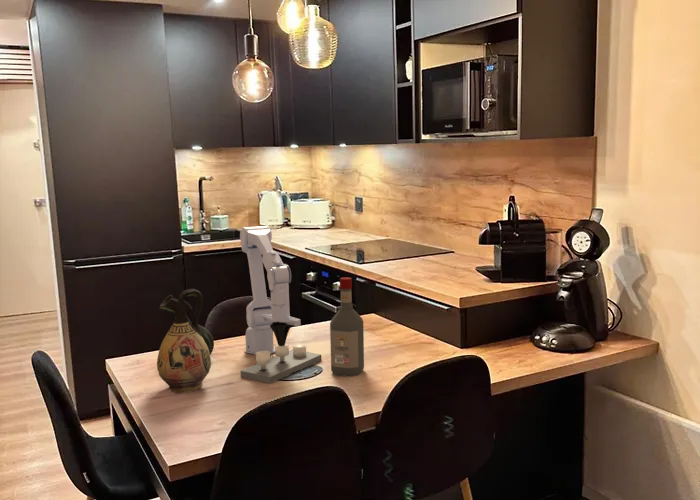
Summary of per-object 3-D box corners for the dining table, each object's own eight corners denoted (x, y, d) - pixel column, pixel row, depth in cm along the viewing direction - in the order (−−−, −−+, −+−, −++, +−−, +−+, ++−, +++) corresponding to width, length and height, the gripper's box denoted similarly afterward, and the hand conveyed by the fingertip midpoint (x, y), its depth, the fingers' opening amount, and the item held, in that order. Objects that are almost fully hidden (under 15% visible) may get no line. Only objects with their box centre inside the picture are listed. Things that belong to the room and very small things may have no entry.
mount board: (240, 376, 203) (240, 370, 202) (293, 354, 224) (293, 349, 224) (270, 383, 196) (269, 377, 196) (321, 360, 217) (321, 354, 217)
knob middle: (272, 361, 209) (271, 346, 208) (281, 357, 213) (280, 342, 212) (283, 363, 207) (282, 348, 206) (291, 359, 210) (291, 344, 210)
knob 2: (290, 361, 217) (290, 346, 216) (298, 357, 220) (298, 343, 220) (301, 363, 214) (300, 348, 214) (309, 359, 218) (308, 345, 217)
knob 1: (253, 369, 202) (252, 353, 201) (262, 365, 205) (262, 349, 205) (264, 371, 199) (263, 355, 199) (273, 367, 203) (273, 352, 202)
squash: (196, 335, 231) (174, 310, 220) (228, 342, 223) (207, 317, 213) (174, 369, 223) (150, 345, 213) (207, 378, 216) (184, 354, 205)
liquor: (356, 377, 200) (354, 281, 195) (328, 375, 203) (326, 280, 198) (366, 368, 208) (364, 276, 204) (339, 365, 211) (337, 275, 207)
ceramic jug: (162, 400, 184) (156, 297, 180) (155, 383, 198) (149, 287, 194) (222, 391, 191) (217, 290, 186) (211, 375, 205) (206, 281, 200)
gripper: (254, 303, 208) (256, 344, 210) (289, 308, 200) (291, 351, 202) (269, 299, 213) (270, 339, 215) (304, 304, 205) (305, 345, 207)
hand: (281, 345), depth 209 cm, fingers closed
